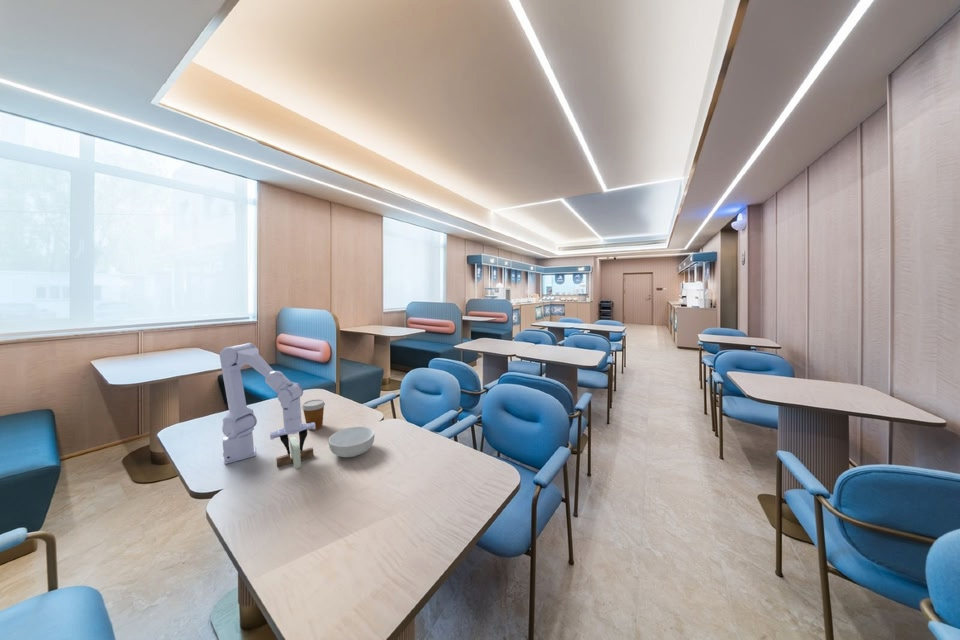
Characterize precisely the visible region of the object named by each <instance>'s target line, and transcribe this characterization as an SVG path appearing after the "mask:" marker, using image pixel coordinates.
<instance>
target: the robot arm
mask: <svg viewBox="0 0 960 640" xmlns="http://www.w3.org/2000/svg"><path fill="white" fill-rule="evenodd" d="M219 359H220V365H221V367H220V368H221V374H222V379H223V383H224V390H225V396H226V401H227V406H228V412H227V414H226V415H225V416H224V417H223V418H222V427H221V430H222V433H223V435H224V437H222V449H223V450H222V451H223V452H222V457H223V458H224V459H223V460H224V465H226V464H227V465H228V464H231V463H234V462H238V461H242V460H246V459H249V458H252V457H256V455H257V454H256V453H257V452H256V446H255V444H254V435H253V431H254V430H255V428H254V427H256V426H257V424H258V419H257V417H256V415H255V413H254V409H252V408H249V407H248V406H247V400H246V394H245V390H244V389H245V388H244V384H243V378H242V371H241V368H242V367H243V366H245V365H247V366H248V365H249V366H250V367H252V369H254V370H255V371H256V372H258V373H259V374H261V375H262V376H263V377H264V378H265V381H264V382H265V383H266V385H268V386H269V387H270V388H271V390H273V391H274V392H275V393H276V394H278V395H277V396H276V397H277V400H278V401H279V402H280V407H281V408H282V416H283V417H282V418H283V428H281V429H278V430H276V431H273V432H269V438H270V441H271V440H275V439H277V438H279V439H280V441H281V443H282V444H283V446H284V447H285V449H286V453H287V454H288V455H289V454H290V455H291V451H290V437H289V436H290V435H296V434H298V438H299V444H298V445H299V448H300V451H303V450H304V448H303V447H304V444H305V442H306V441H305V440H306V438H307V436H308V431H310V430H309V429H316V428H315V423H314V422H313V423H307V424H306V423H303V422H302V410H301V409H302V406H301V397H302V396H303V394H304V389H303V387H302V385H301V384H300V383H299V382H294V381H291V380H290V379H289V378H287V376H285V374H284V373H283V372H282V371H280V370H274V369H273V368H272V367H271V366H270V365H269V363H267V362H266V361H265V359H264V358H263V357H262V356H261V355H260V352H259V348H258V347H256V346H255V344H253V343H251V342H247V343H243V344H237V345H233V346H226V347H224V348H222V350H221V351H220V352H219Z"/></svg>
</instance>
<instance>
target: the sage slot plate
mask: <svg viewBox="0 0 960 640" xmlns="http://www.w3.org/2000/svg"><path fill="white" fill-rule="evenodd" d="M299 445H300V444H299V443H298V440H297V437H296V436H291V437H289V449H290V457H292V458H293V462H292V464H293V466H294V467H293V468H294V469H295V470H296V469H299V468H301V467H302V460H301V458H300V446H299Z"/></svg>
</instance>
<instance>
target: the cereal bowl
mask: <svg viewBox="0 0 960 640" xmlns="http://www.w3.org/2000/svg"><path fill="white" fill-rule="evenodd" d="M374 441H375V431H374V430H373V429H372V428H370V427H367V426H352V427H347V428H343V429H340V430H338V431H336V432H334V433H333V434H331V435H330V436H329V438H328V448H329V450H330V451H331V453H333V454H334V455H335V456H337V457H341V458H354V457H358V456H360V455H362V454H364V453H366V452H367V451H368V450H369V449H371V447H372V446H373V444H374Z"/></svg>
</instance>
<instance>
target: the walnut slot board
mask: <svg viewBox="0 0 960 640" xmlns="http://www.w3.org/2000/svg"><path fill="white" fill-rule="evenodd" d="M314 455H315V454H314V448H313V447H308V448H305V449H303V451H300V458H301V461H303V460H305V459H309V458H312V457H314ZM275 460H276V467H278V468H279V467H282V466H286V465H289V464H293V458H292V457H291V453H290V454H289V455H288V453H287V454H284V455H280V456H276V459H275Z"/></svg>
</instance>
